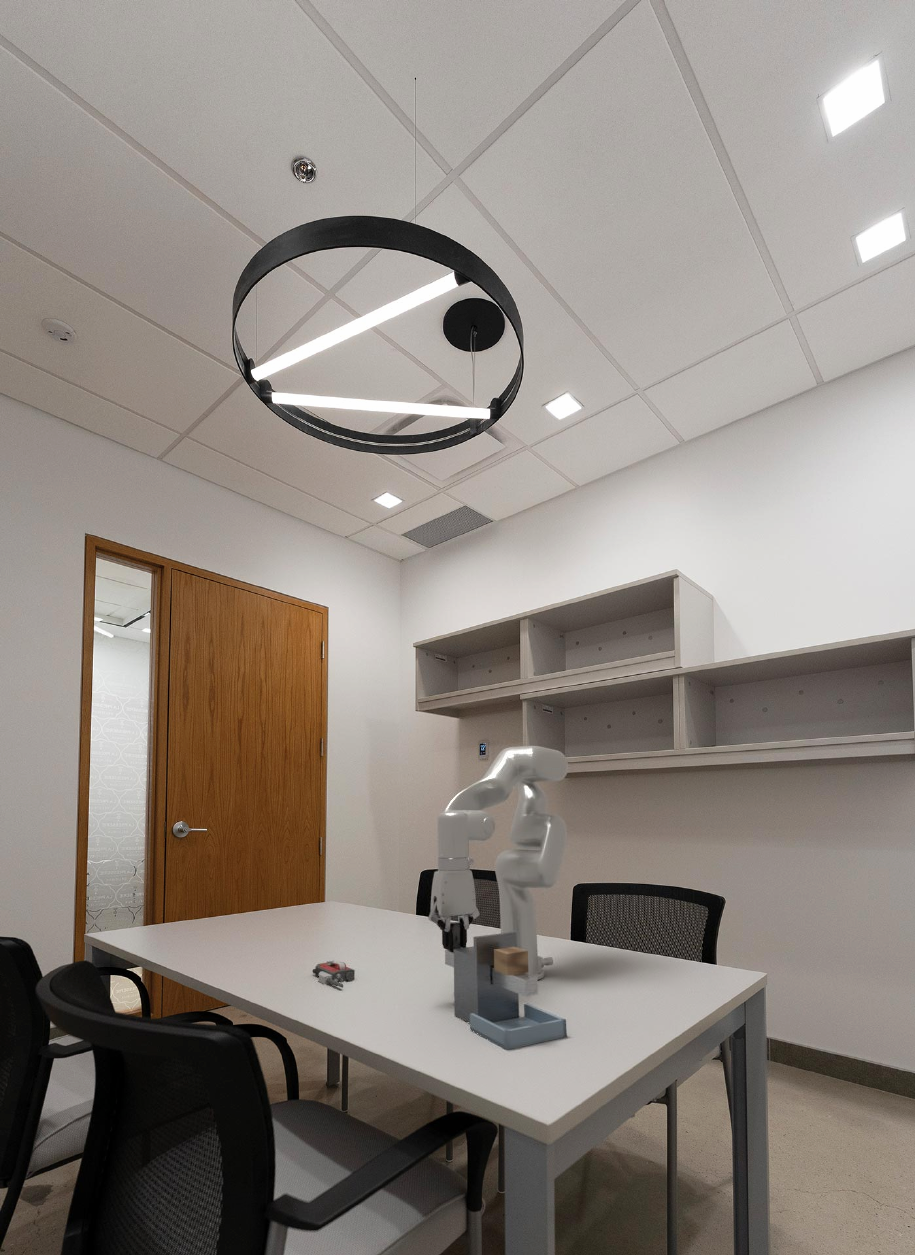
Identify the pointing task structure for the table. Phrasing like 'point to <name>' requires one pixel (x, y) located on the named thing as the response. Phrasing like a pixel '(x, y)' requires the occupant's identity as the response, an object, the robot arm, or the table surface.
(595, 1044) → the table surface
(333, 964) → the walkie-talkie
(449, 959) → the steel shaft
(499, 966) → the block
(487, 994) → the bracket
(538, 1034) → the slate tray
